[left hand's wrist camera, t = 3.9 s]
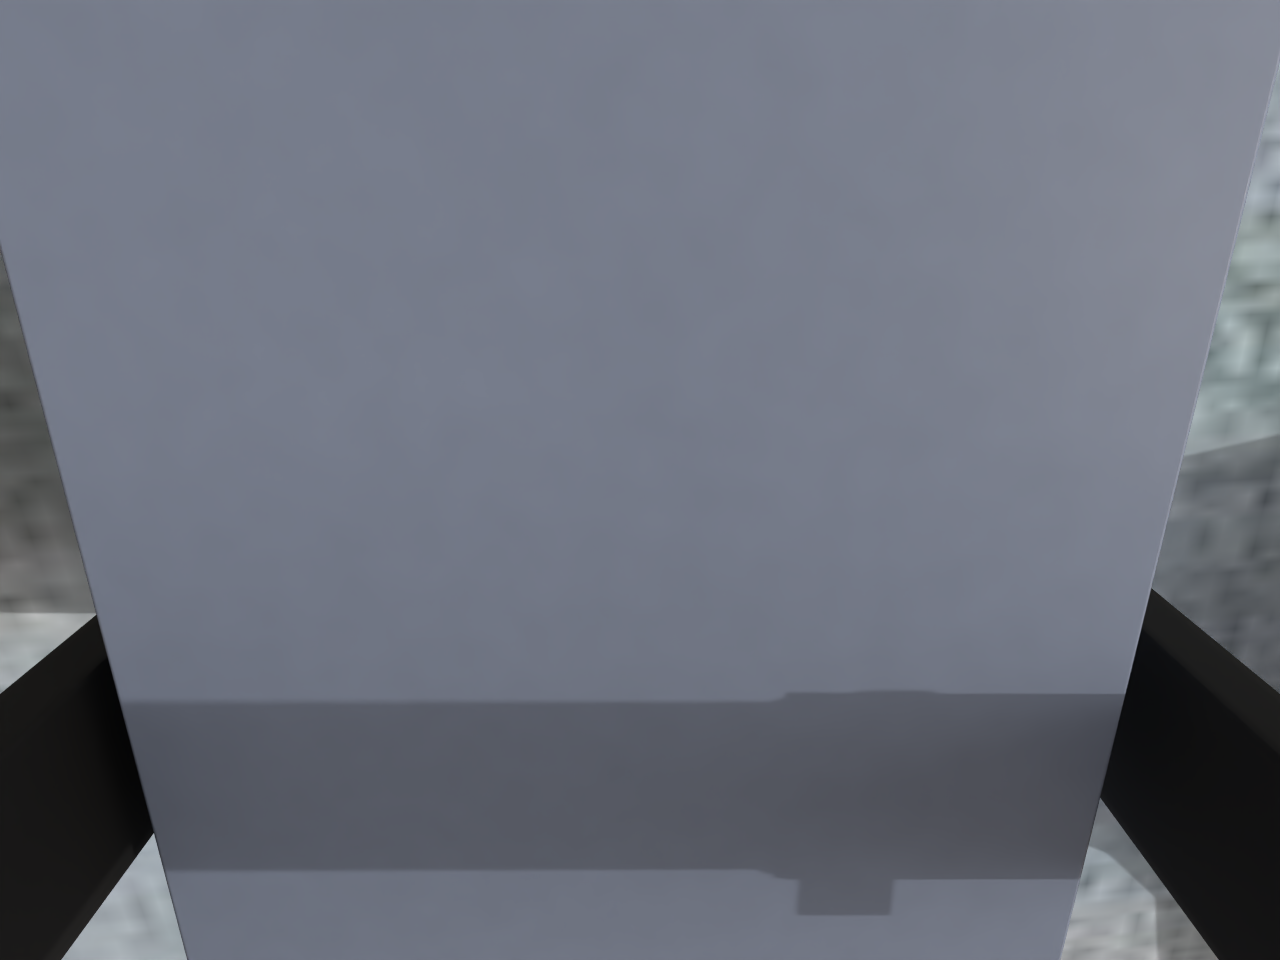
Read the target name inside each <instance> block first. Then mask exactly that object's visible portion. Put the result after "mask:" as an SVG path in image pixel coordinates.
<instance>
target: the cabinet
mask: <svg viewBox="0 0 1280 960" xmlns="http://www.w3.org/2000/svg"><path fill="white" fill-rule="evenodd" d="M1279 63H1280V0H0V249H1V253H2V257H3V261H4V265H5V268H6V272H7V276H8V280H9V284H10V287H11V291H12V295H13V299H14V303H15V306H16V310H17V314H18V318H19V322H20V325H21V329H22V333H23V337H24V341H25V344H26V348H27V352H28V356H29V360H30V363H31V367H32V371H33V375H34V379H35V382H36V386H37V390H38V394H39V398H40V401H41V405H42V409H43V413H44V417H45V420H46V424H47V428H48V432H49V436H50V439H51V443H52V447H53V451H54V455H55V458H56V462H57V466H58V470H59V474H60V477H61V481H62V485H63V489H64V493H65V496H66V500H67V504H68V508H69V512H70V515H71V519H72V523H73V527H74V531H75V534H76V538H77V542H78V546H79V550H80V553H81V557H82V561H83V565H84V569H85V572H86V576H87V580H88V584H89V588H90V591H91V595H92V599H93V603H94V607H95V610H96V614H97V618H98V622H99V626H100V629H101V633H102V637H103V641H104V645H105V648H106V652H107V656H108V660H109V664H110V667H111V671H112V675H113V679H114V683H115V686H116V690H117V694H118V698H119V702H120V705H121V709H122V713H123V717H124V721H125V724H126V728H127V732H128V736H129V740H130V743H131V747H132V751H133V755H134V759H135V762H136V766H137V770H138V774H139V778H140V781H141V785H142V789H143V793H144V797H145V800H146V804H147V808H148V812H149V816H150V819H151V823H152V827H153V831H154V835H155V838H156V842H157V846H158V850H159V854H160V858H161V861H162V865H163V869H164V873H165V877H166V880H167V884H168V888H169V892H170V896H171V899H172V903H173V907H174V911H175V915H176V918H177V922H178V926H179V930H180V934H181V937H182V941H183V945H184V949H185V953H186V956H187V960H1060V959H1061V955H1062V951H1063V947H1064V943H1065V939H1066V935H1067V931H1068V927H1069V922H1070V918H1071V914H1072V910H1073V906H1074V902H1075V898H1076V894H1077V890H1078V886H1079V881H1080V877H1081V873H1082V869H1083V865H1084V861H1085V857H1086V853H1087V849H1088V845H1089V841H1090V836H1091V832H1092V828H1093V824H1094V820H1095V816H1096V812H1097V808H1098V804H1099V800H1100V796H1101V791H1102V787H1103V783H1104V779H1105V775H1106V771H1107V767H1108V763H1109V759H1110V755H1111V750H1112V746H1113V742H1114V738H1115V734H1116V730H1117V726H1118V722H1119V718H1120V714H1121V710H1122V705H1123V701H1124V697H1125V693H1126V689H1127V685H1128V681H1129V677H1130V673H1131V669H1132V664H1133V660H1134V656H1135V652H1136V648H1137V644H1138V640H1139V636H1140V632H1141V628H1142V624H1143V619H1144V615H1145V611H1146V607H1147V603H1148V599H1149V595H1150V591H1151V587H1152V583H1153V579H1154V574H1155V570H1156V566H1157V562H1158V558H1159V554H1160V550H1161V546H1162V542H1163V538H1164V533H1165V529H1166V525H1167V521H1168V517H1169V513H1170V509H1171V505H1172V501H1173V497H1174V493H1175V488H1176V484H1177V480H1178V476H1179V472H1180V468H1181V464H1182V460H1183V456H1184V452H1185V447H1186V443H1187V439H1188V435H1189V431H1190V427H1191V423H1192V419H1193V415H1194V411H1195V407H1196V402H1197V398H1198V394H1199V390H1200V386H1201V382H1202V378H1203V374H1204V370H1205V366H1206V362H1207V357H1208V353H1209V349H1210V345H1211V341H1212V337H1213V333H1214V329H1215V325H1216V321H1217V316H1218V312H1219V308H1220V304H1221V300H1222V296H1223V292H1224V288H1225V284H1226V280H1227V276H1228V271H1229V267H1230V263H1231V259H1232V255H1233V251H1234V247H1235V243H1236V239H1237V235H1238V230H1239V226H1240V222H1241V218H1242V214H1243V210H1244V206H1245V202H1246V198H1247V194H1248V190H1249V185H1250V181H1251V177H1252V173H1253V169H1254V165H1255V161H1256V157H1257V153H1258V149H1259V145H1260V140H1261V136H1262V132H1263V128H1264V124H1265V120H1266V116H1267V112H1268V108H1269V104H1270V99H1271V95H1272V91H1273V87H1274V83H1275V79H1276V75H1277V71H1278V67H1279Z"/></svg>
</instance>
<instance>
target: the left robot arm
mask: <svg viewBox="0 0 1280 960" xmlns="http://www.w3.org/2000/svg"><path fill="white" fill-rule="evenodd" d="M1100 798H1101V799H1102V800H1103V802H1104V803H1105V805H1106V806H1107V807H1108V809H1109V810H1110V811H1111V813H1112V814H1113V816H1114V817H1115V818H1116V820H1117V821H1118V822H1119V824H1120V825H1121V826H1122V828H1123V829H1124V831H1125V832H1126V833H1127V835H1128V836H1129V837H1130V839H1131V840H1132V842H1133V843H1134V844H1135V846H1136V847H1137V848H1138V850H1139V851H1140V852H1141V854H1142V855H1143V857H1144V858H1145V859H1146V861H1147V862H1148V863H1149V865H1150V866H1151V868H1152V869H1153V870H1154V872H1155V873H1156V874H1157V876H1158V877H1159V878H1160V880H1161V881H1162V883H1163V884H1164V885H1165V887H1166V888H1167V889H1168V891H1169V892H1170V894H1171V895H1172V896H1173V898H1174V899H1175V900H1176V902H1177V903H1178V905H1179V906H1180V907H1181V909H1182V910H1183V911H1184V913H1185V914H1186V915H1187V917H1188V918H1189V920H1190V921H1191V922H1192V924H1193V925H1194V926H1195V928H1196V929H1197V931H1198V932H1199V933H1200V935H1201V936H1202V937H1203V939H1204V940H1205V941H1206V943H1207V944H1208V946H1209V947H1210V948H1211V950H1212V951H1213V952H1214V954H1215V955H1216V957H1217V958H1218V959H1219V960H1280V694H1279V693H1278V692H1277V691H1275V690H1274V689H1273V688H1272V687H1271V686H1269V685H1268V684H1267V683H1266V682H1265V681H1263V680H1262V679H1261V678H1260V677H1258V676H1257V675H1256V674H1255V673H1254V672H1252V671H1251V670H1250V669H1249V668H1248V667H1246V666H1245V665H1244V664H1243V663H1241V662H1240V661H1239V660H1238V659H1237V658H1235V657H1234V656H1233V655H1232V654H1231V653H1229V652H1228V651H1227V650H1226V649H1224V648H1223V647H1222V646H1221V645H1220V644H1218V643H1217V642H1216V641H1215V640H1214V639H1212V638H1211V637H1210V636H1209V635H1207V634H1206V633H1205V632H1204V631H1203V630H1201V629H1200V628H1199V627H1198V626H1196V625H1195V624H1194V623H1193V622H1192V621H1190V620H1189V619H1188V618H1187V617H1186V616H1184V615H1183V614H1182V613H1181V612H1179V611H1178V610H1177V609H1176V608H1175V607H1173V606H1172V605H1171V604H1170V603H1169V602H1167V601H1166V600H1165V599H1164V598H1162V597H1161V596H1160V595H1159V594H1158V593H1156V592H1155V591H1154V590H1153V589H1152V588H1151V591H1150V595H1149V599H1148V603H1147V607H1146V611H1145V615H1144V619H1143V624H1142V628H1141V632H1140V636H1139V640H1138V644H1137V648H1136V652H1135V656H1134V660H1133V664H1132V669H1131V673H1130V677H1129V681H1128V685H1127V689H1126V693H1125V697H1124V701H1123V705H1122V710H1121V714H1120V718H1119V722H1118V726H1117V730H1116V734H1115V738H1114V742H1113V746H1112V750H1111V755H1110V759H1109V763H1108V767H1107V771H1106V775H1105V779H1104V783H1103V787H1102V791H1101V796H1100ZM153 833H154V831H153V827H152V823H151V819H150V816H149V812H148V808H147V804H146V800H145V797H144V793H143V789H142V785H141V781H140V778H139V774H138V770H137V766H136V762H135V759H134V755H133V751H132V747H131V743H130V740H129V736H128V732H127V728H126V724H125V721H124V717H123V713H122V709H121V705H120V702H119V698H118V694H117V690H116V686H115V683H114V679H113V675H112V671H111V667H110V664H109V660H108V656H107V652H106V648H105V645H104V641H103V637H102V633H101V629H100V626H99V622H98V618H97V615H96V616H94V617H93V618H92V619H91V620H90V621H88V622H87V623H86V624H85V625H84V626H82V627H81V628H80V629H79V630H77V631H76V632H75V633H74V634H73V635H71V636H70V637H69V638H68V639H66V640H65V641H64V642H63V643H62V644H60V645H59V646H58V647H57V648H56V649H54V650H53V651H52V652H51V653H49V654H48V655H47V656H46V657H45V658H43V659H42V660H41V661H40V662H39V663H37V664H36V665H35V666H34V667H32V668H31V669H30V670H29V671H28V672H26V673H25V674H24V675H23V676H22V677H20V678H19V679H18V680H17V681H15V682H14V683H13V684H12V685H11V686H9V687H8V688H7V689H6V690H5V691H3V692H2V693H1V694H0V960H61V959H62V958H63V957H64V955H65V954H66V952H67V951H68V950H69V948H70V947H71V946H72V944H73V943H74V941H75V940H76V939H77V937H78V936H79V935H80V933H81V932H82V931H83V929H84V928H85V926H86V925H87V924H88V922H89V921H90V920H91V918H92V917H93V915H94V914H95V913H96V911H97V910H98V909H99V907H100V906H101V905H102V903H103V902H104V900H105V899H106V898H107V896H108V895H109V894H110V892H111V891H112V889H113V888H114V887H115V885H116V884H117V883H118V881H119V880H120V878H121V877H122V876H123V874H124V873H125V872H126V870H127V869H128V868H129V866H130V865H131V863H132V862H133V861H134V859H135V858H136V857H137V855H138V854H139V852H140V851H141V850H142V848H143V847H144V846H145V844H146V843H147V842H148V840H149V839H150V837H151V836H152V835H153Z"/></svg>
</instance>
